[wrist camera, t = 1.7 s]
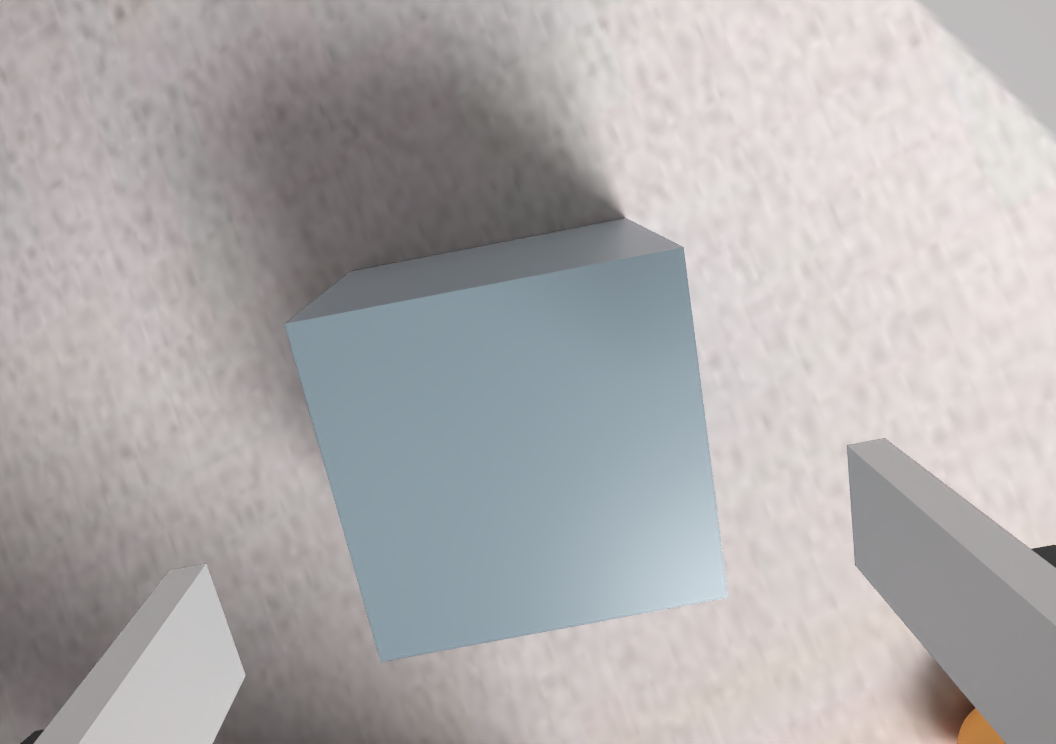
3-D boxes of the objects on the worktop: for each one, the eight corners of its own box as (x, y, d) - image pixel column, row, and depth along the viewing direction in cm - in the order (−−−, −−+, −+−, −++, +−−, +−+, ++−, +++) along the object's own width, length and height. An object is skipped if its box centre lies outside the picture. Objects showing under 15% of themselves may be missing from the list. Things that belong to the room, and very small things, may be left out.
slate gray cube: (413, 520, 30) (380, 662, 22) (350, 271, 27) (284, 323, 19) (663, 473, 30) (728, 597, 22) (626, 218, 27) (683, 247, 19)
